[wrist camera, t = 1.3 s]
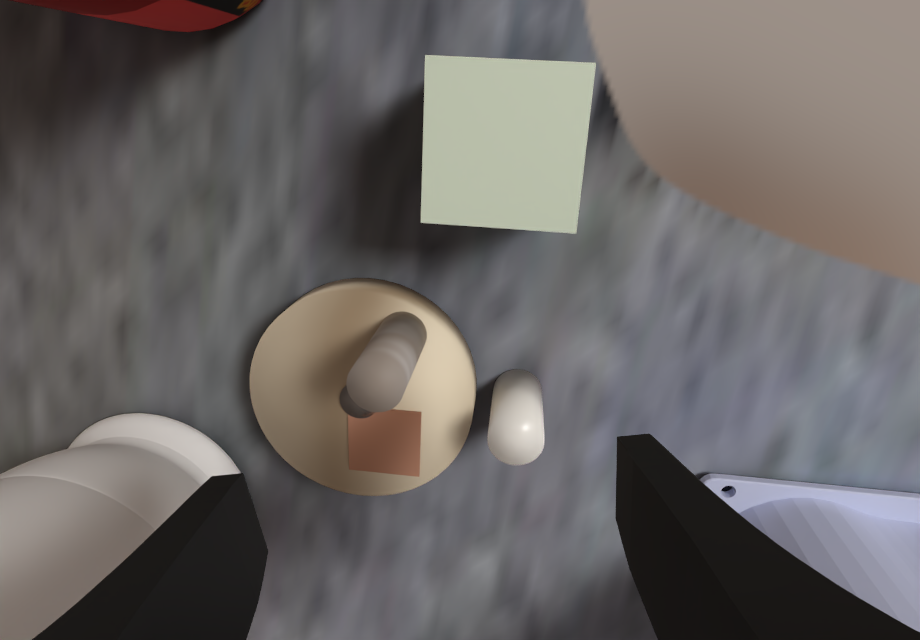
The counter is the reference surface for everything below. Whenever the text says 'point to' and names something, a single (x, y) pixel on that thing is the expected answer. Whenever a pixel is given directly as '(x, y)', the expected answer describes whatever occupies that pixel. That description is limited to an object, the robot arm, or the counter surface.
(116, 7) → the canned food
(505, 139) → the link block
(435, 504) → the counter surface
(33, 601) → the jar
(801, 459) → the counter surface
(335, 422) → the disc
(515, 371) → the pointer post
